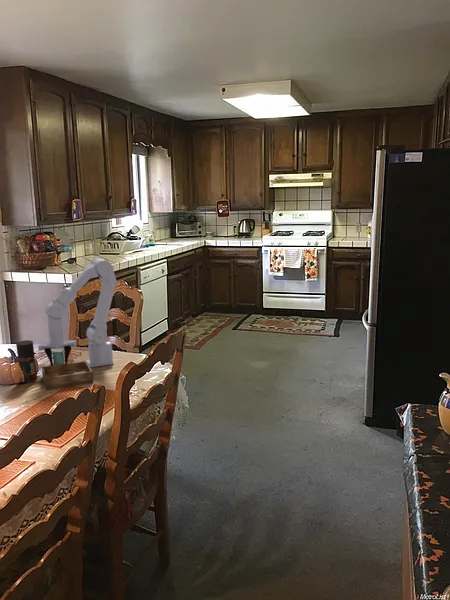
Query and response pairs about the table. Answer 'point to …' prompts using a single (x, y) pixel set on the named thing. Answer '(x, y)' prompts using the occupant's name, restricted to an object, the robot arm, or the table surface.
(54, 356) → the peg
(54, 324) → the robot arm
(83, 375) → the box
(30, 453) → the table surface
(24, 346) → the deodorant
